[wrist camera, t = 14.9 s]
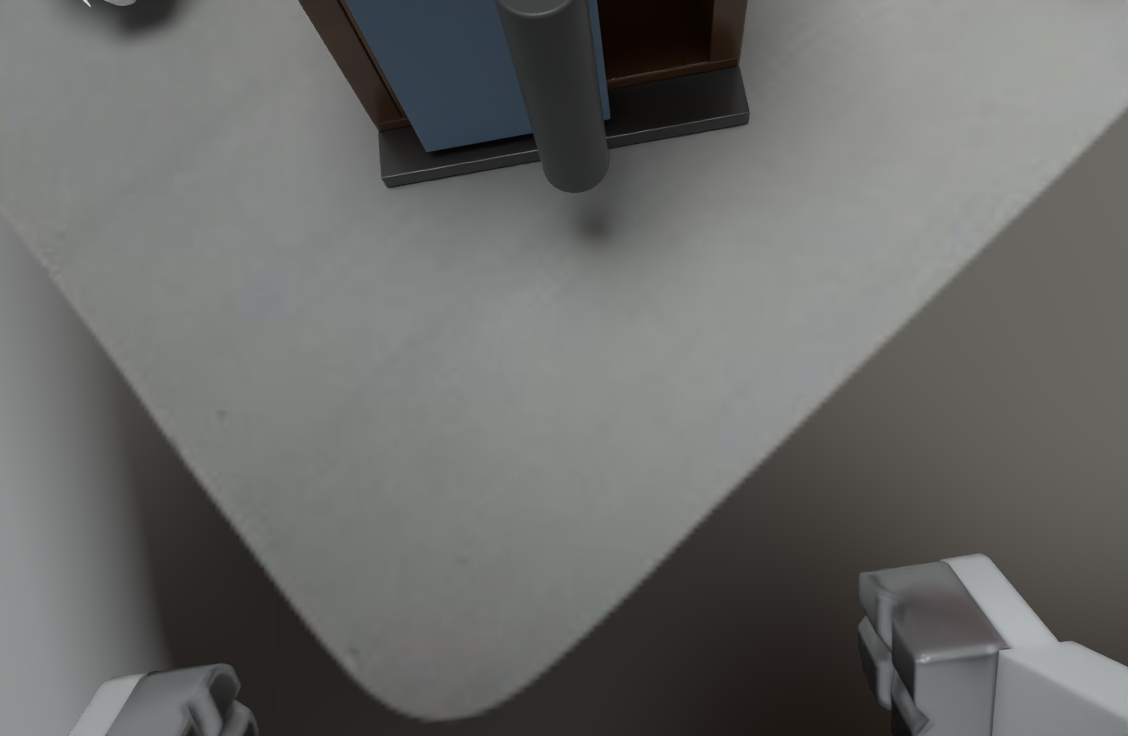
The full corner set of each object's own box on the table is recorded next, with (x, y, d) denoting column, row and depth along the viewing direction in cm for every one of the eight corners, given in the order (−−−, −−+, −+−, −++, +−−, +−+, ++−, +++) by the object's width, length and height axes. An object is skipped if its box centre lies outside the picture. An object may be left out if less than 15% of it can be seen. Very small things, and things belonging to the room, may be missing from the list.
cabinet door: (629, 231, 25) (592, -123, 13) (435, 264, 25) (223, -48, 13) (606, 92, 26) (554, -344, 14) (423, 126, 27) (221, -269, 15)
